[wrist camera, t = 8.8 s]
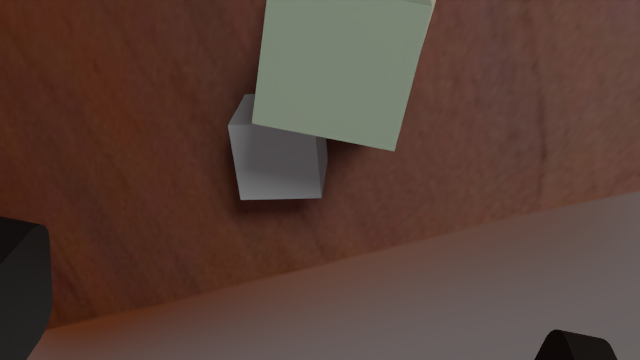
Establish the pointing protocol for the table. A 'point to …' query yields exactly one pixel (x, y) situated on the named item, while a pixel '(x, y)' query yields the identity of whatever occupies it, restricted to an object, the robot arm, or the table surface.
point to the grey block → (275, 159)
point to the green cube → (339, 67)
